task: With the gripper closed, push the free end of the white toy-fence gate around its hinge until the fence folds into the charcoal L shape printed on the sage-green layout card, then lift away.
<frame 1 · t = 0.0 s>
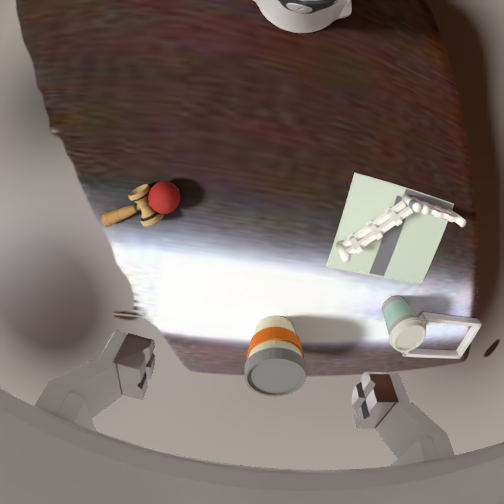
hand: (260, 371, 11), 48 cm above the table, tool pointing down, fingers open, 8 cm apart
fence fixed: (403, 197, 56), resting on layout card
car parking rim: (441, 334, 71), on the table
fence gate: (378, 227, 55), point 4 cm above the table, hinge at -40.0°
reusable coffee cup: (274, 330, 72), on the table
coffee cup: (393, 305, 67), on the table
layout card: (393, 233, 59), on the table
kendama: (143, 203, 59), on the table
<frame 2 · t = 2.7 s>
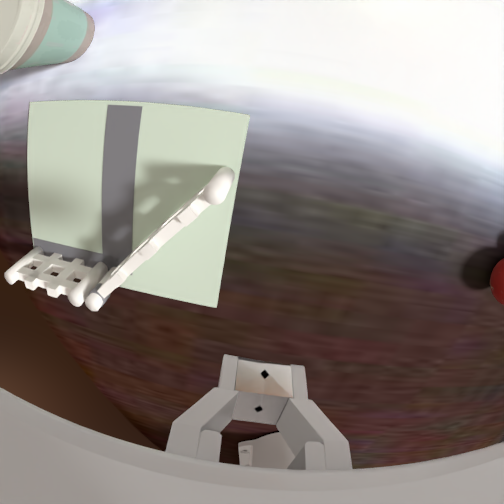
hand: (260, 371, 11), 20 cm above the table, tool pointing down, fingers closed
fence fixed: (119, 269, 33), resting on layout card
fence gate: (152, 242, 27), point 4 cm above the table, hinge at -40.0°
coffee cup: (72, 37, 21), on the table
layout card: (114, 200, 29), on the table
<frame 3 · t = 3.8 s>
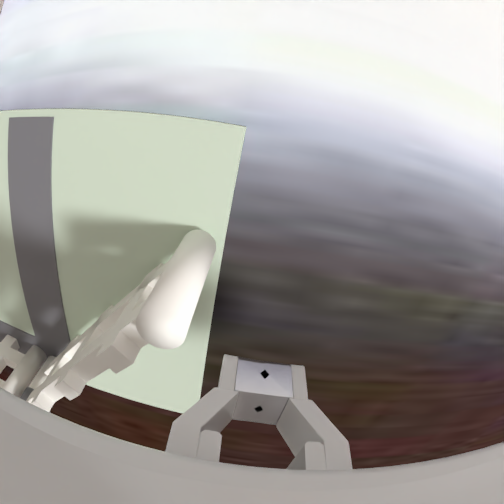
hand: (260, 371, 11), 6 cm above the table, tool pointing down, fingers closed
fence fixed: (60, 356, 20), resting on layout card
fence gate: (83, 355, 14), point 4 cm above the table, hinge at -40.0°
layout card: (35, 268, 17), on the table
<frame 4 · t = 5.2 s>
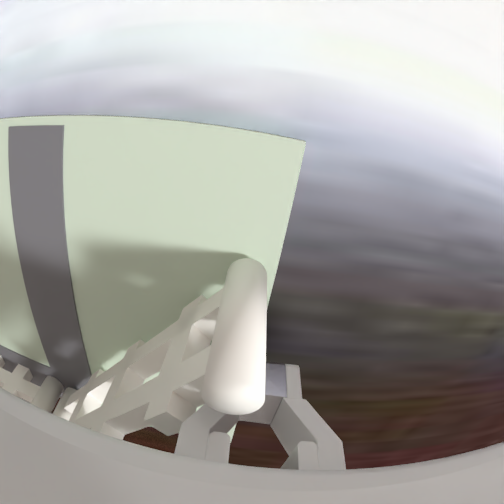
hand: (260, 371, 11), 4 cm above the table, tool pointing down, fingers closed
fence fixed: (79, 386, 18), resting on layout card
fence gate: (113, 398, 12), point 4 cm above the table, hinge at -39.6°, touching gripper
layout card: (48, 298, 15), on the table
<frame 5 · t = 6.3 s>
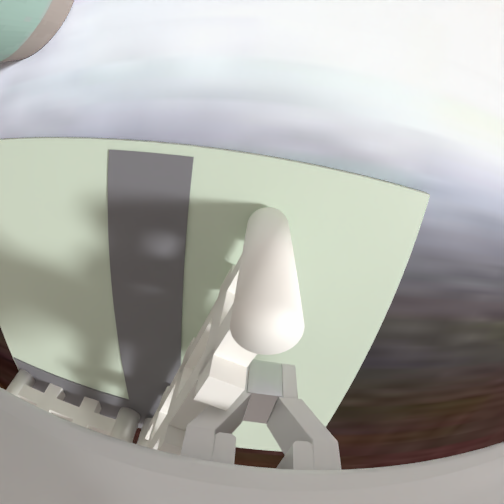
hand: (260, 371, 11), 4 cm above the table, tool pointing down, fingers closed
fence fixed: (158, 415, 19), resting on layout card
fence gate: (180, 404, 13), point 4 cm above the table, hinge at -18.0°, touching gripper
coffee cup: (34, 8, 8), on the table
layout card: (142, 333, 16), on the table
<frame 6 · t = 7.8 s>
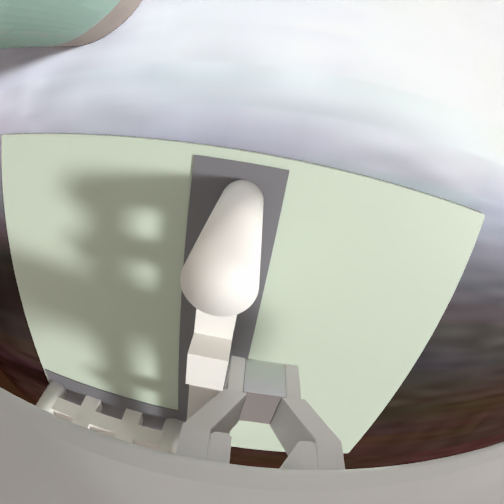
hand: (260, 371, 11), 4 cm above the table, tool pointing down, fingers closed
fence fixed: (204, 424, 19), resting on layout card
fence gate: (205, 402, 12), point 4 cm above the table, hinge at -1.0°, touching gripper
layout card: (205, 345, 16), on the table
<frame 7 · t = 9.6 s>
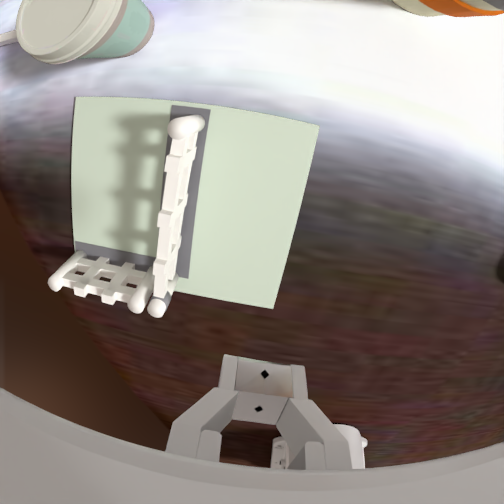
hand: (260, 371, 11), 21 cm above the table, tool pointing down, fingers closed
fence fixed: (173, 273, 34), resting on layout card
fence gate: (172, 218, 27), point 4 cm above the table, hinge at -2.7°
coffee cup: (127, 30, 22), on the table
layout card: (174, 203, 30), on the table
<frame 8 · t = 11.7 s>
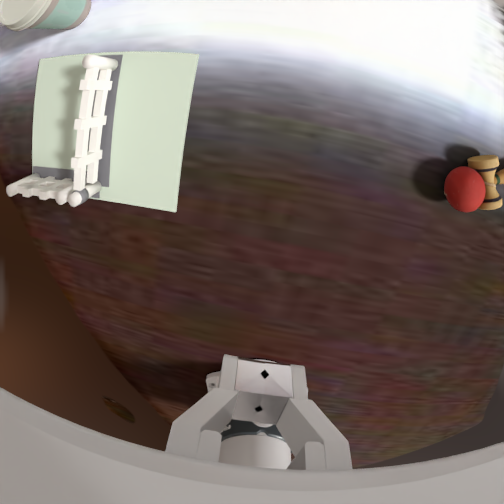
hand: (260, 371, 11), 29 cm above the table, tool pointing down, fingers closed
fence fixed: (99, 184, 38), resting on layout card
fence gate: (90, 129, 31), point 4 cm above the table, hinge at -2.7°
coffee cup: (74, 11, 27), on the table
layout card: (99, 126, 34), on the table
kendama: (483, 173, 34), on the table
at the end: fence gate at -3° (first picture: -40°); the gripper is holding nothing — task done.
